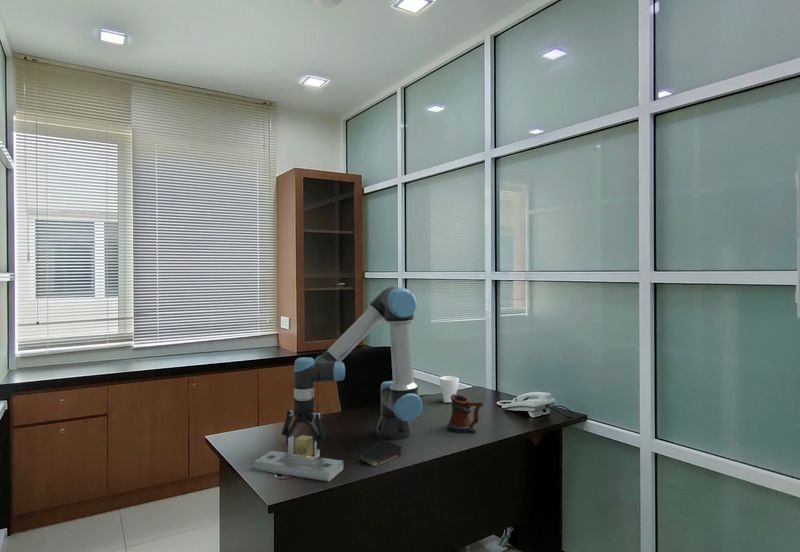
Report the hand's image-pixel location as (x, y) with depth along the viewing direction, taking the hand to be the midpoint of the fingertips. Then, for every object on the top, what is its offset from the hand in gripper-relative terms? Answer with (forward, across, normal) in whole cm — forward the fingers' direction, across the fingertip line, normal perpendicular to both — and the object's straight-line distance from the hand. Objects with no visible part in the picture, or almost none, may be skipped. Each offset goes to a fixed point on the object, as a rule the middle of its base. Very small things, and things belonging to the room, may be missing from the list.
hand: (303, 455), depth 185 cm
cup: (0, -35, -95) cm, 101 cm away
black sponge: (+1, -29, -8) cm, 30 cm away
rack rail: (0, -5, +12) cm, 13 cm away
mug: (0, -53, -51) cm, 74 cm away
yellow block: (0, 0, 0) cm, 0 cm away
